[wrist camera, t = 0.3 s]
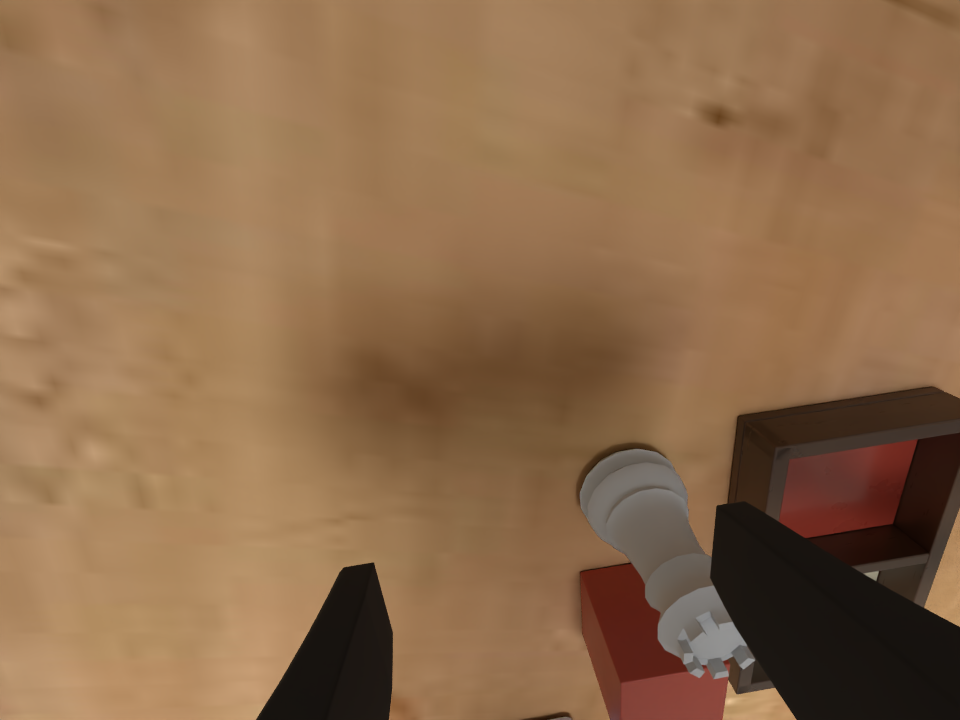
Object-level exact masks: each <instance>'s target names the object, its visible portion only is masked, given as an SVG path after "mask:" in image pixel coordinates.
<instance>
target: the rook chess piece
mask: <svg viewBox="0 0 960 720" xmlns="http://www.w3.org/2000/svg"><path fill="white" fill-rule="evenodd" d="M687 498H688V495H687V491H686V488H685V486H684V484H683V482H682V480H681V478H680V476H679V475H678V474H677V473H676V472H675V470H674V468H673V466H672V464H671V462H670V461H669V460H667V459H666V458H665V457H663V456H662V455H660V454H659V453H657V452H653V451H648V450H642V449H630V450H624V451H619V452H615V453H613V454H611V455H609V456H607V457H605V458H604V459H602V460H600V461H599V462H598V463H597V464H596V466H595V467H594V468H593V469H592V470H591V471H590V472H589V473H588V475H587V476H586V479H585V481H584V484H583V486H582V488H581V491H580V504H581V510H582V511H583V513H584V514H585V516H586V517H587V519H588V522H589V524H590V525H591V527H592V528H593V530H594V531H595V533H596V534H597V535H598V536H599V537H600V538H601V540H603V541H605V542H607V543H608V544H610V545H612V546H613V548H615V549H617V550H618V551H620V552H622V553H624V554H625V555H626V556H627V557H628V559H629V560H630V561H631V563H632V564H633V566H634V567H635V568H636V570H637V571H638V573H639V574H640V576H641V577H642V579H643V581H644V583H645V598H646V600H647V601H648V603H649V604H650V606H651V607H652V608H654V609H656V610H658V611H660V613H661V614H660V618H659V623H658V640H659V642H660V643H661V645H662V646H663V648H664V649H665V650H666V651H668V652H670V653H672V654H674V655H676V656H678V657H679V658H681V660H682V662H683V664H685V666H686V668H687V670H688V672H689V673H690V674H692V675H694V676H696V677H698V678H700V677H701V676H702V675H703V674H704V673H705V671H704V669H703V667H702V665H706V666H707V668H708V670H709V672H710V673H711V675H712V677H713V679H718V678H723V677H728V676H729V674H728V670H727V668H726V667H725V665H724V663H723V661H725V660H727V659H729V658H731V657H733V656H734V658H735V659H736V661H737V663H738V664H739V666H740V667H741V668H743V669H745V668H746V667H747V666H749V665H750V664H751V663H752V662H754V661H755V659H754V657H753V655H752V654H751V652H750V651H749V649H748V648H747V644H746V643H745V641H744V640H743V638H742V637H741V635H740V634H739V632H738V631H737V629H736V627H735V626H734V624H733V622H732V620H731V618H730V616H729V614H728V613H727V611H726V609H725V607H724V605H723V603H722V601H721V599H720V597H719V595H718V593H717V591H716V589H715V587H714V585H713V583H712V581H711V579H710V570H711V560H712V557H710V556H708V555H706V554H705V552H704V551H703V549H702V548H701V547H700V545H699V543H698V541H697V539H696V537H695V535H694V533H693V531H692V529H691V527H690V525H689V521H688V512H689V509H688V507H687Z"/></svg>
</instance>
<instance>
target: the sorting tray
mask: <svg viewBox="0 0 960 720" xmlns="http://www.w3.org/2000/svg"><path fill="white" fill-rule="evenodd" d="M742 501H746V502H747V503H749V504H751V505H752V506H754V507H756V508H758V509H759V510H761V511H762V512H764V513H766V514H767V515H769V516H771V517H772V518H774V519H775V520H777V521H779V522H780V523H782V524H783V525H785V526H787V527H788V528H790V529H791V530H793V531H795V532H796V533H798V534H799V535H801V536H803V537H804V538H806V539H807V540H809V541H811V542H812V543H814V544H815V545H817V546H819V547H820V548H822V549H823V550H825V551H827V552H828V553H830V554H832V555H833V556H835V557H836V558H838V559H840V560H841V561H843V562H845V563H846V564H848V565H850V566H851V567H853V568H855V569H856V570H858V571H860V572H861V573H863V574H865V575H866V576H868V577H870V578H872V579H873V580H875V581H877V582H879V583H880V584H882V585H884V586H885V587H887V588H889V589H891V590H892V591H894V592H896V593H898V594H900V595H901V596H903V597H905V598H907V599H909V600H910V601H912V602H914V603H916V604H918V605H920V606H921V607H923V608H924V606H925V603H926V600H927V597H928V595H929V592H930V589H931V586H932V584H933V581H934V578H935V575H936V572H937V570H938V567H939V564H940V561H941V558H942V556H943V553H944V550H945V547H946V544H947V542H948V539H949V536H950V533H951V531H952V528H953V525H954V522H955V519H956V517H957V514H958V511H959V508H960V399H959V398H957V397H955V396H953V395H951V394H949V393H947V392H944V391H942V390H940V389H938V388H936V387H929V388H922V389H916V390H909V391H903V392H896V393H889V394H883V395H876V396H870V397H863V398H856V399H850V400H843V401H837V402H830V403H823V404H817V405H810V406H804V407H797V408H791V409H784V410H777V411H771V412H764V413H758V414H751V415H744V416H739V417H738V425H737V434H736V442H735V451H734V459H733V468H732V476H731V485H730V493H729V502H728V504H730V503H736V502H742ZM747 648H748V649H749V647H748V646H747ZM749 651H750V652H751V650H750V649H749ZM751 654H752V655H753V653H752V652H751ZM753 657H754V655H753ZM754 659H755V661H754V662H752V663H751V664H750V665H749V666H747V667H746V668H745V669H743V668H741V667H740V666H739V664H738V663H737V661H736V659H735V658H734V656H733V657H731V658H729V659H728V661H729V663H730V670H729V677H728V680H729V682H730V683H731V685H732V687H733V689H734V690H735V692H736V694H742V693H748V692H753V691H759V690H764V689H770V688H775V687H774V685H773V684H772V682H771V681H770V679H769V678H768V676H767V675H766V673H765V672H764V670H763V669H762V667H761V666H760V664H759V663H758V661H757V660H756V658H755V657H754Z"/></svg>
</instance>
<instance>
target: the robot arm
mask: <svg viewBox="0 0 960 720" xmlns="http://www.w3.org/2000/svg"><path fill="white" fill-rule="evenodd" d="M710 579H711V581H712V583H713V585H714V587H715V589H716V591H717V593H718V595H719V597H720V599H721V601H722V603H723V605H724V607H725V609H726V611H727V613H728V614H729V616H730V618H731V620H732V622H733V624H734V626H735V627H736V629H737V631H738V632H739V634H740V635H741V637H742V638H743V640H744V641H745V643H746V644H747V646H748V647H749V649H750V650H751V652H752V653H753V655H754V657H755V658H756V660H757V661H758V663H759V664H760V666H761V667H762V669H763V670H764V672H765V673H766V675H767V676H768V678H769V679H770V681H771V682H772V684H773V685H774V687H775V688H776V690H777V691H778V692H779V694H780V695H781V697H782V698H783V700H784V701H785V703H786V704H787V706H788V707H789V709H790V710H791V712H792V713H793V715H794V716H795V718H796V719H797V720H960V627H959V626H957V625H955V624H953V623H951V622H949V621H947V620H945V619H943V618H941V617H940V616H938V615H936V614H934V613H932V612H930V611H929V610H927V609H925V608H923V607H921V606H920V605H918V604H916V603H914V602H912V601H910V600H909V599H907V598H905V597H903V596H901V595H900V594H898V593H896V592H894V591H892V590H891V589H889V588H887V587H885V586H884V585H882V584H880V583H879V582H877V581H875V580H873V579H872V578H870V577H868V576H866V575H865V574H863V573H861V572H860V571H858V570H856V569H855V568H853V567H851V566H850V565H848V564H846V563H845V562H843V561H841V560H840V559H838V558H836V557H835V556H833V555H832V554H830V553H828V552H827V551H825V550H823V549H822V548H820V547H819V546H817V545H815V544H814V543H812V542H811V541H809V540H807V539H806V538H804V537H803V536H801V535H799V534H798V533H796V532H795V531H793V530H791V529H790V528H788V527H787V526H785V525H783V524H782V523H780V522H779V521H777V520H775V519H774V518H772V517H771V516H769V515H767V514H766V513H764V512H762V511H761V510H759V509H758V508H756V507H754V506H752V505H751V504H749V503H747V502H746V501H742V502H736V503H730V504H724V505H718V506H717V508H716V518H715V529H714V539H713V549H712V560H711V570H710ZM392 666H393V632H392V628H391V624H390V621H389V617H388V613H387V609H386V606H385V602H384V598H383V595H382V591H381V587H380V584H379V580H378V576H377V573H376V569H375V565H374V563H368V564H362V565H356V566H350V567H344V568H343V569H342V570H341V571H340V573H339V575H338V577H337V579H336V581H335V583H334V585H333V587H332V589H331V591H330V593H329V595H328V597H327V599H326V600H325V602H324V604H323V606H322V608H321V610H320V612H319V614H318V616H317V618H316V619H315V621H314V623H313V625H312V627H311V629H310V630H309V632H308V634H307V636H306V638H305V639H304V641H303V643H302V645H301V646H300V648H299V650H298V652H297V653H296V655H295V657H294V659H293V660H292V662H291V664H290V665H289V667H288V669H287V671H286V672H285V674H284V676H283V677H282V679H281V681H280V682H279V684H278V686H277V687H276V689H275V690H274V692H273V694H272V695H271V697H270V698H269V700H268V702H267V703H266V705H265V706H264V708H263V709H262V711H261V713H260V714H259V716H258V717H257V719H256V720H389V712H390V703H391V694H392ZM549 720H572V719H571V718H570V717H560V718H555V719H549Z"/></svg>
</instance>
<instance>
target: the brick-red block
mask: <svg viewBox="0 0 960 720" xmlns="http://www.w3.org/2000/svg"><path fill="white" fill-rule="evenodd" d="M580 581H581V608H582V634H583V637H584V640H585V643H586V646H587V649H588V652H589V655H590V658H591V662H592V665H593V668H594V671H595V674H596V677H597V680H598V683H599V686H600V689H601V692H602V696H603V699H604V702H605V705H606V708H607V711H608V714H609V717H610V720H722V719H723V712H724V705H725V698H726V691H727V684H728V677H729V676H728V677H723V678H718V679H713V677H712V675H711V673H710V672H709V670H708V668H707V666H706V665H702V667H703V669H704V671H705V673H704V674H703V675H702V676H701V677H700V678H698V677H696V676H694V675H692V674H690V673H689V672H688V670H687V668H686V666H685V664H683V662H682V660H681V658H679V657H678V656H676V655H674V654H672V653H670V652H668V651H666V650H665V649H664V648H663V646H662V645H661V643H660V642H659V640H658V623H659V618H660V614H661V613H660V611H658V610H656V609H654V608H652V607H651V606H650V604H649V603H648V601H647V600H646V598H645V583H644V581H643V579H642V577H641V576H640V574H639V573H638V571H637V570H636V568H635V567H634V566H633V564H632V563H631V564H625V565H619V566H613V567H607V568H601V569H595V570H589V571H583V572H580ZM723 663H724V665H725V667H726V668H727V670H728V674H729V670H730V663H729V661H728V659H727V660H725V661H723Z"/></svg>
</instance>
